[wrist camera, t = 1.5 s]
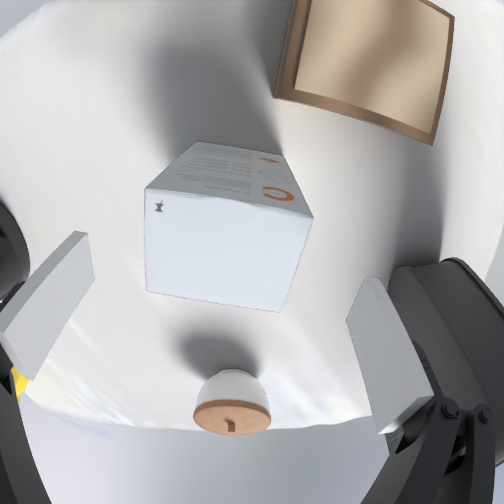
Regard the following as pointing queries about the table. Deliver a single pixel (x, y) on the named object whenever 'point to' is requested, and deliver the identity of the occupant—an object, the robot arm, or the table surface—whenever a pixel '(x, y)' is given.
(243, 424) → the lidded jar
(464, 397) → the speaker
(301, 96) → the brown square box
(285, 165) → the small box
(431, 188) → the table surface
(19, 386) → the teapot
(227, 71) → the table surface
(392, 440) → the robot arm
